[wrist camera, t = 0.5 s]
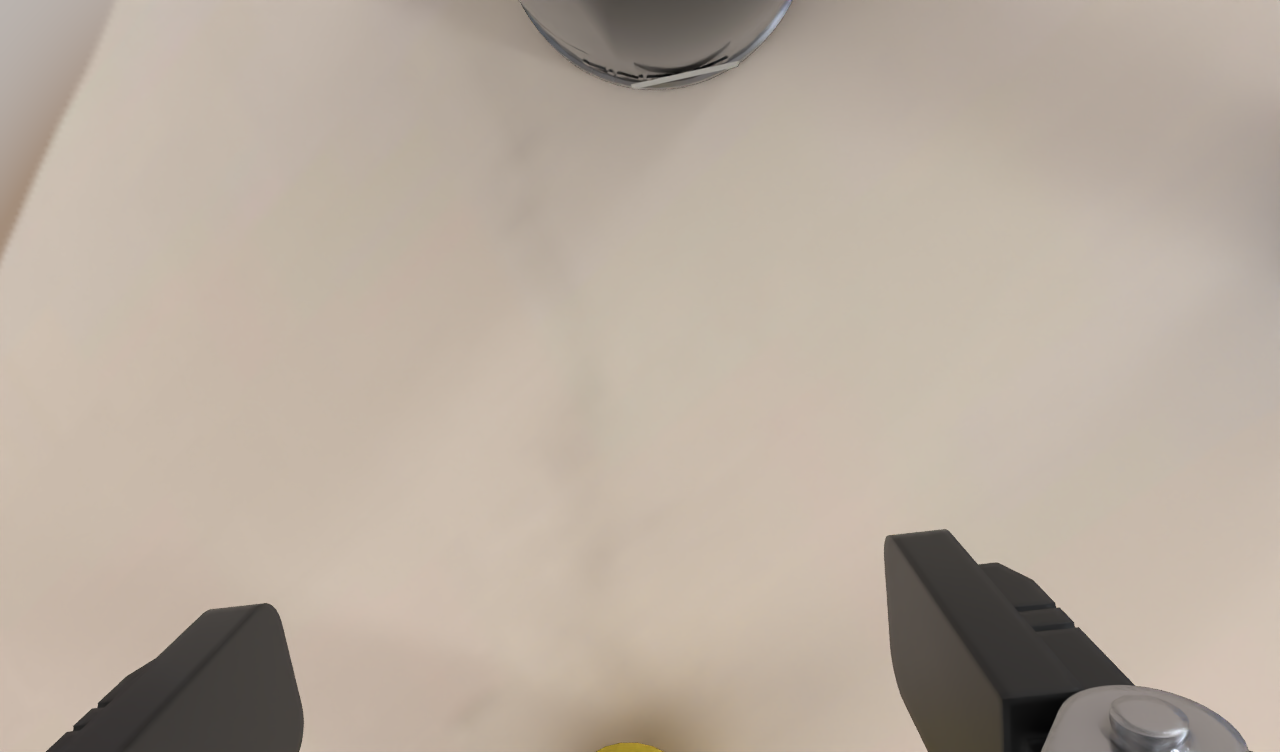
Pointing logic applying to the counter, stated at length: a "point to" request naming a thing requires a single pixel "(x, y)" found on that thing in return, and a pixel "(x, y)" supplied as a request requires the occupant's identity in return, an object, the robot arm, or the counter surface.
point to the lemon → (629, 748)
